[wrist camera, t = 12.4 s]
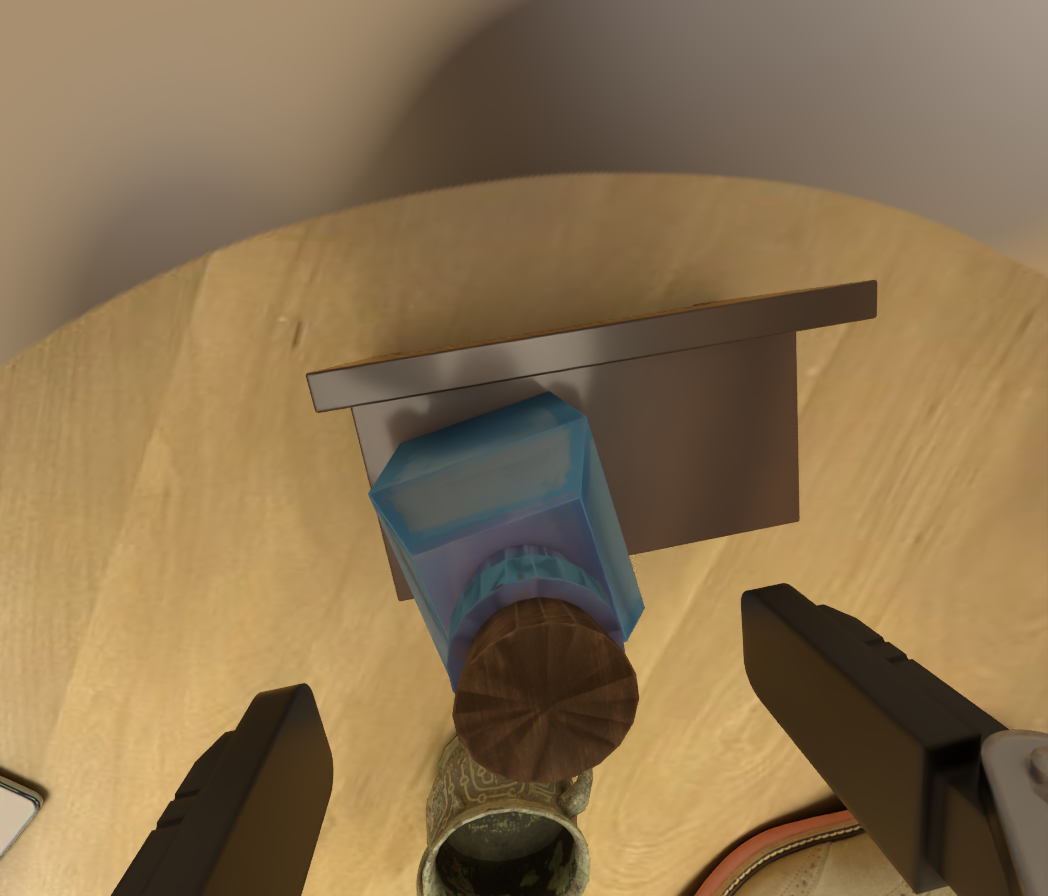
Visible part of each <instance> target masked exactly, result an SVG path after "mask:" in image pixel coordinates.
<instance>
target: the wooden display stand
mask: <svg viewBox="0 0 1048 896" xmlns="http://www.w3.org/2000/svg"><path fill="white" fill-rule="evenodd" d="M876 316H877V281H876V280H870V281H863V282H855V283H848V284H840V285H833V286H825V287H818V288H810V289H803V290H796V291H788V292H781V293H773V294H766V295H758V296H751V297H743V298H736V299H729V300H721V301H715V302H709V303H702V304H696V305H694V306H693V307H688V308H682V309H675V310H669V311H663V312H657V313H651V314H645V315H639V316H633V317H627V318H620V319H614V320H608V321H602V322H596V323H590V324H584V325H578V326H572V327H566V328H559V329H553V330H547V331H541V332H535V333H529V334H523V335H517V336H511V337H505V338H498V339H492V340H486V341H480V342H474V343H468V344H462V345H456V346H450V347H443V348H437V349H431V350H425V351H419V352H413V353H407V354H401V353H397V354H391V355H385V356H378V357H372V358H368V359H364V360H360V361H356V362H352V363H347V364H343V365H339V366H335V367H331V368H327V369H322V370H318V371H314V372H310V373H307V374H306V378H307V382H308V386H309V389H310V393H311V397H312V401H313V404H314V408H315V411H316V413H321V412H327V411H333V410H339V409H345V408H350V407H351V411H352V415H353V419H354V423H355V427H356V431H357V435H358V439H359V443H360V447H361V451H362V455H363V459H364V463H365V467H366V471H367V475H368V479H369V483H370V487H371V489H372V487H373V485H374V484H375V482H376V481H377V479H378V477H379V476H380V474H381V473H382V471H383V470H384V468H385V466H386V465H387V463H388V462H389V460H390V458H391V457H392V455H393V454H394V452H395V451H396V449H397V447H398V446H399V444H400V443H403V442H406V441H408V440H411V439H414V438H417V437H420V436H423V435H426V434H428V433H431V432H434V431H437V430H440V429H443V428H446V427H448V426H451V425H454V424H457V423H460V422H463V421H465V420H468V419H471V418H474V417H477V416H480V415H483V414H485V413H488V412H491V411H494V410H497V409H500V408H503V407H505V406H508V405H511V404H514V403H517V402H520V401H523V400H525V399H528V398H531V397H534V396H537V395H540V394H543V393H545V392H548V391H550V392H551V393H553V394H554V395H556V396H557V397H559V398H560V399H562V400H563V401H565V402H566V403H567V404H569V405H570V406H572V407H573V408H575V409H576V410H578V411H579V412H580V413H582V414H583V415H585V416H586V417H587V419H588V423H589V426H590V429H591V433H592V436H593V439H594V442H595V446H596V449H597V452H598V456H599V459H600V462H601V466H602V469H603V472H604V475H605V479H606V482H607V485H608V489H609V492H610V495H611V498H612V502H613V505H614V508H615V512H616V515H617V518H618V522H619V525H620V528H621V531H622V535H623V538H624V541H625V545H626V548H627V551H628V554H629V555H633V554H638V553H643V552H648V551H653V550H658V549H663V548H668V547H673V546H678V545H683V544H688V543H693V542H698V541H703V540H708V539H713V538H718V537H723V536H728V535H733V534H738V533H743V532H748V531H753V530H758V529H763V528H768V527H773V526H778V525H783V524H788V523H793V522H798V521H799V468H798V415H797V362H796V331H802V330H808V329H814V328H820V327H826V326H832V325H837V324H843V323H849V322H855V321H861V320H867V319H873V318H875V317H876ZM377 516H378V515H377ZM378 520H379V517H378ZM379 524H380V528H381V532H382V536H383V540H384V544H385V548H386V552H387V556H388V560H389V564H390V568H391V572H392V576H393V580H394V584H395V588H396V592H397V596H398V600H399V601H404V600H409V599H414V596H413V594H412V592H411V589H410V587H409V585H408V583H407V580H406V578H405V576H404V574H403V571H402V569H401V567H400V565H399V562H398V560H397V558H396V556H395V553H394V551H393V549H392V547H391V544H390V542H389V540H388V538H387V535H386V533H385V531H384V529H383V526H382V524H381V522H380V520H379Z"/></svg>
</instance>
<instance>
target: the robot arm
mask: <svg viewBox="0 0 1048 896" xmlns="http://www.w3.org/2000/svg"><path fill="white" fill-rule="evenodd" d="M741 613H742V632H743V652H744V664H745V669H746V673H747V676H748V679H749V681H750V684H751V686H752V688H753V690H754V692H755V693H756V695H757V697H758V698H759V699H760V701H761V702H762V703H763V704H764V706H765V707H766V708H767V709H768V711H769V712H770V713H771V714H772V716H773V717H774V718H775V719H776V720H777V722H778V723H779V724H780V725H781V727H782V728H783V729H784V730H785V732H786V733H787V734H788V735H789V737H790V738H791V739H792V740H793V742H794V743H795V744H796V745H797V747H798V748H799V749H800V750H801V752H802V753H803V754H804V755H805V757H806V758H807V759H808V760H809V762H810V763H811V764H812V765H813V767H814V768H815V769H816V770H817V772H818V773H819V774H820V775H821V777H822V778H823V779H824V780H825V782H826V783H827V784H828V785H829V787H830V788H831V789H832V790H833V792H834V793H835V794H836V795H837V797H838V798H839V799H840V800H841V801H842V803H843V804H844V805H845V806H846V808H847V809H848V810H849V811H850V813H851V814H852V815H853V816H854V818H855V819H856V820H857V821H858V823H859V824H860V825H861V826H862V828H863V829H864V830H865V831H866V833H867V834H868V835H869V836H870V838H871V839H872V840H873V841H874V843H875V844H876V845H877V846H878V848H879V849H880V850H881V851H882V853H883V854H884V855H885V856H886V858H887V859H888V860H889V861H890V863H891V864H892V865H893V866H894V868H895V869H896V870H897V871H898V873H899V874H900V875H901V876H902V878H903V879H904V880H905V881H906V883H907V884H908V885H909V886H910V887H911V889H912V890H913V891H914V892H915V894H916V895H917V894H921V893H925V892H928V891H932V890H936V889H939V888H943V887H947V886H949V887H950V888H951V889H952V890H953V891H954V892H955V893H956V895H957V896H1048V734H1046V733H1042V732H1036V731H1030V730H1009V729H1008V728H1006V727H1005V726H1004V725H1002V724H1001V723H1000V722H998V721H997V720H995V719H994V718H993V717H991V716H990V715H989V714H987V713H986V712H984V711H983V710H982V709H980V708H979V707H978V706H976V705H975V704H973V703H972V702H971V701H969V700H968V699H967V698H965V697H964V696H962V695H961V694H960V693H958V692H957V691H956V690H954V689H953V688H951V687H950V686H949V685H947V684H946V683H945V682H943V681H942V680H940V679H939V678H938V677H936V676H935V675H934V674H932V673H931V672H930V671H928V670H927V669H925V668H924V667H923V666H921V665H920V664H919V663H917V662H916V661H914V660H913V659H910V660H909V659H908V658H907V656H906V654H905V653H903V652H902V651H901V650H899V649H898V648H897V647H895V646H894V645H892V644H891V643H890V642H885V641H884V639H883V637H881V636H880V635H879V634H877V633H876V632H875V631H873V630H872V629H871V628H869V627H868V626H866V625H865V624H864V623H862V622H861V621H860V620H858V619H857V618H855V617H852V616H850V615H848V614H845V613H843V612H841V611H838V610H836V609H833V608H831V607H829V606H826V605H824V604H823V605H818V606H817V605H815V604H814V603H813V602H811V601H810V600H809V599H807V598H806V597H805V596H804V595H802V594H801V593H800V592H798V591H797V590H796V589H795V588H793V587H792V586H790V585H789V584H786V583H782V584H777V585H772V586H767V587H763V588H758V589H753V590H748V591H745V592H744V593H743V594H742V597H741ZM332 785H333V759H332V753H331V750H330V746H329V743H328V740H327V737H326V734H325V731H324V727H323V724H322V721H321V718H320V715H319V711H318V708H317V705H316V702H315V699H314V696H313V693H312V690H311V688H310V687H309V686H308V685H307V684H305V683H303V684H298V685H293V686H289V687H284V688H279V689H274V690H270V691H265V692H260V693H259V694H257V695H256V696H255V697H254V699H253V700H252V702H251V704H250V706H249V707H248V709H247V711H246V712H245V714H244V716H243V718H242V719H241V721H240V723H239V724H238V726H237V728H236V730H234V731H229V732H225V733H224V734H223V735H222V736H221V737H220V738H219V739H218V740H217V741H216V742H215V743H214V744H213V745H212V746H211V747H210V748H209V749H208V750H207V751H206V752H205V753H204V754H203V755H202V756H201V757H200V758H199V759H198V760H197V761H196V762H195V763H194V765H193V767H192V768H191V770H190V771H189V773H188V774H187V776H186V778H185V779H184V781H183V782H182V784H181V786H180V787H179V789H178V790H177V792H176V793H175V799H174V801H170V803H169V804H168V806H167V808H166V809H165V811H164V812H163V814H162V816H161V817H160V819H159V820H158V822H157V828H156V830H153V831H151V833H150V834H149V836H148V838H147V839H146V841H145V842H144V844H143V846H142V847H141V849H140V850H139V852H138V853H137V855H136V857H135V858H134V860H133V861H132V863H131V864H130V866H129V868H128V869H127V871H126V872H125V874H124V876H123V877H122V879H121V880H120V882H119V883H118V885H117V887H116V888H115V890H114V891H113V893H112V894H111V896H301V894H302V891H303V888H304V884H305V881H306V877H307V874H308V871H309V867H310V864H311V860H312V857H313V854H314V850H315V847H316V843H317V840H318V837H319V833H320V830H321V826H322V823H323V820H324V816H325V813H326V809H327V806H328V803H329V799H330V796H331V791H332Z"/></svg>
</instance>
